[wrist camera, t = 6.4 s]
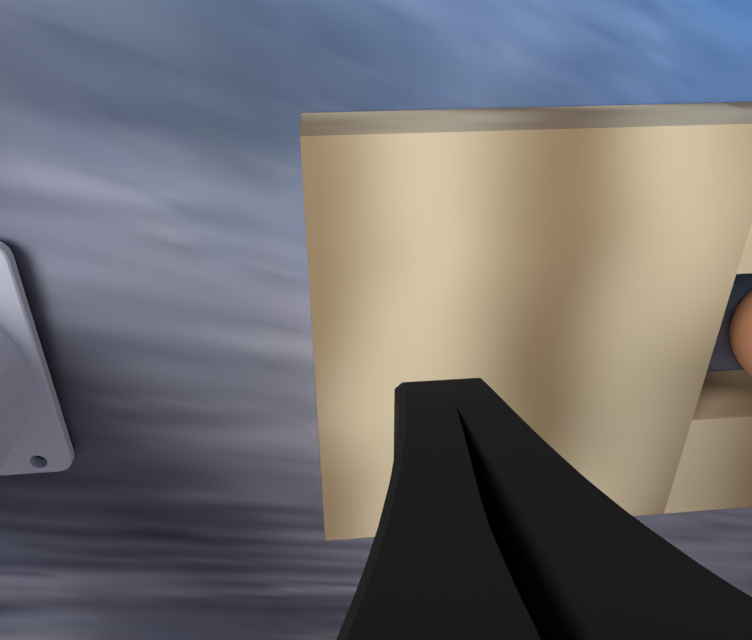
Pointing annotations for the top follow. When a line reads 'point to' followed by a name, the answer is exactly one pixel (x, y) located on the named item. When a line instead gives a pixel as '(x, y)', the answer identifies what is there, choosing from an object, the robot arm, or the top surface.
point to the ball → (742, 333)
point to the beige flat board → (534, 289)
